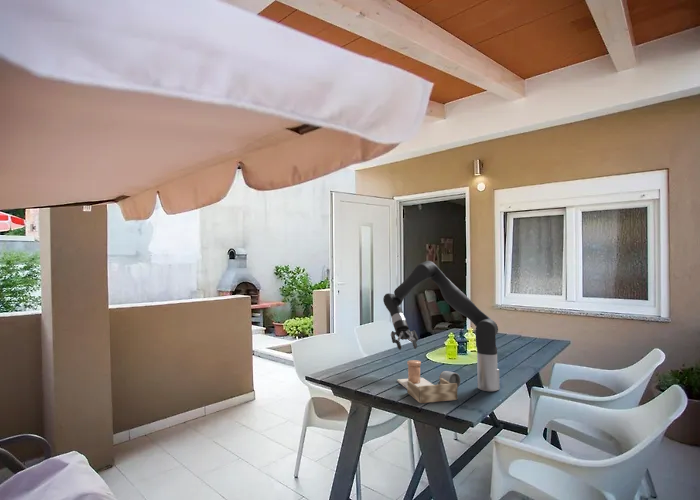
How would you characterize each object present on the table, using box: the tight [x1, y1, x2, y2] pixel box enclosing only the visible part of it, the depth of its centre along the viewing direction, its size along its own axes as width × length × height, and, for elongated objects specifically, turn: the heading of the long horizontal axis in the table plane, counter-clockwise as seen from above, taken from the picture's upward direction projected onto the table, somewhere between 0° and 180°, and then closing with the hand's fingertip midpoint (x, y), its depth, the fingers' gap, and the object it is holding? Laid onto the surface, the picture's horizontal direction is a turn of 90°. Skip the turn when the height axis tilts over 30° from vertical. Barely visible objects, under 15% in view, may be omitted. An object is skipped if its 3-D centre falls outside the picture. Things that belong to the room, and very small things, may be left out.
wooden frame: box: [406, 378, 458, 404], centre depth 180 cm, size 18×14×7 cm
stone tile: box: [397, 377, 434, 390], centre depth 197 cm, size 14×14×1 cm
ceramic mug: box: [436, 370, 462, 389], centre depth 192 cm, size 11×8×8 cm
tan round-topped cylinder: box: [406, 359, 422, 384], centre depth 198 cm, size 7×7×10 cm
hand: (408, 348), depth 206 cm, fingers open, 8 cm apart
